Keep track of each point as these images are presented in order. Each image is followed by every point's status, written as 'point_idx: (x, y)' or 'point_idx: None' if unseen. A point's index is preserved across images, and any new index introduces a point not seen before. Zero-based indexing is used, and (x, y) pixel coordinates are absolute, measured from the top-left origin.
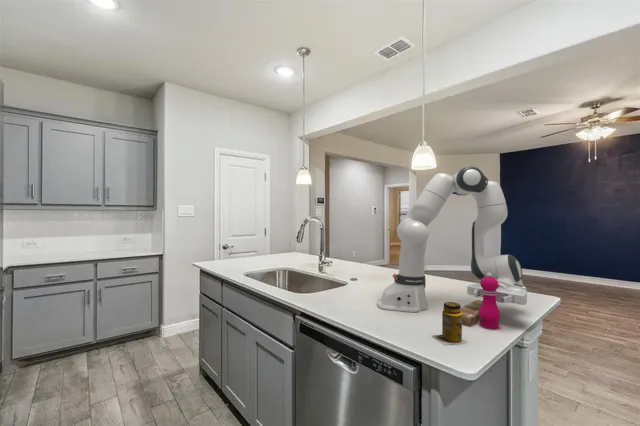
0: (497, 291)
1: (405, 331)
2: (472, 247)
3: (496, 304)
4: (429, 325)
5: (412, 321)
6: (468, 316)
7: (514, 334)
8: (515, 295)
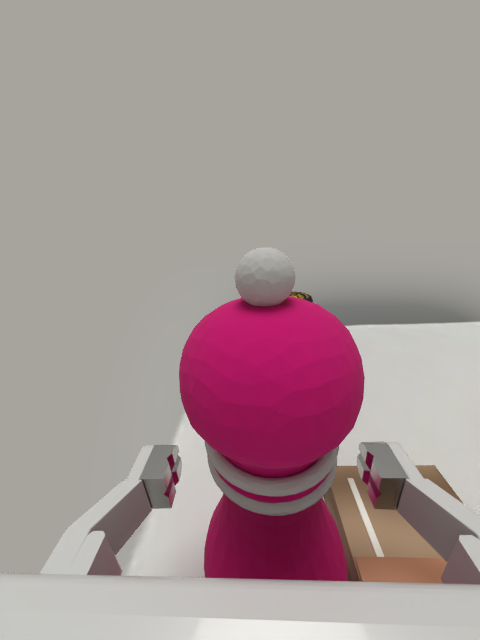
0: (220, 580)
1: (374, 353)
2: None
3: (220, 512)
4: (397, 405)
5: (450, 398)
6: (355, 492)
7: (145, 558)
8: (3, 574)
